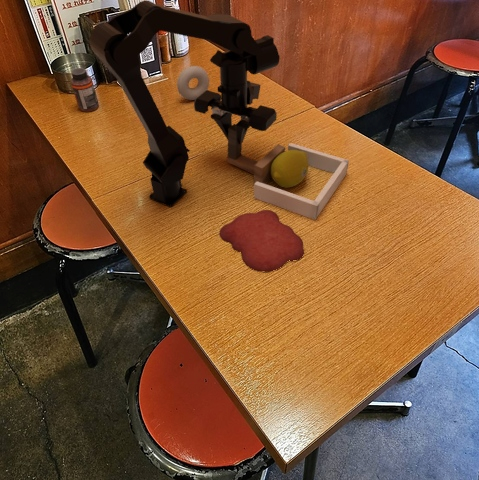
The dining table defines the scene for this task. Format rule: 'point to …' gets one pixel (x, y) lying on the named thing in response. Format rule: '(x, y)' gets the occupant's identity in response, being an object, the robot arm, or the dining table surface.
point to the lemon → (289, 168)
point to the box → (301, 203)
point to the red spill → (263, 240)
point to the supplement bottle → (84, 90)
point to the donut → (185, 79)
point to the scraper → (257, 168)
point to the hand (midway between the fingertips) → (235, 141)
